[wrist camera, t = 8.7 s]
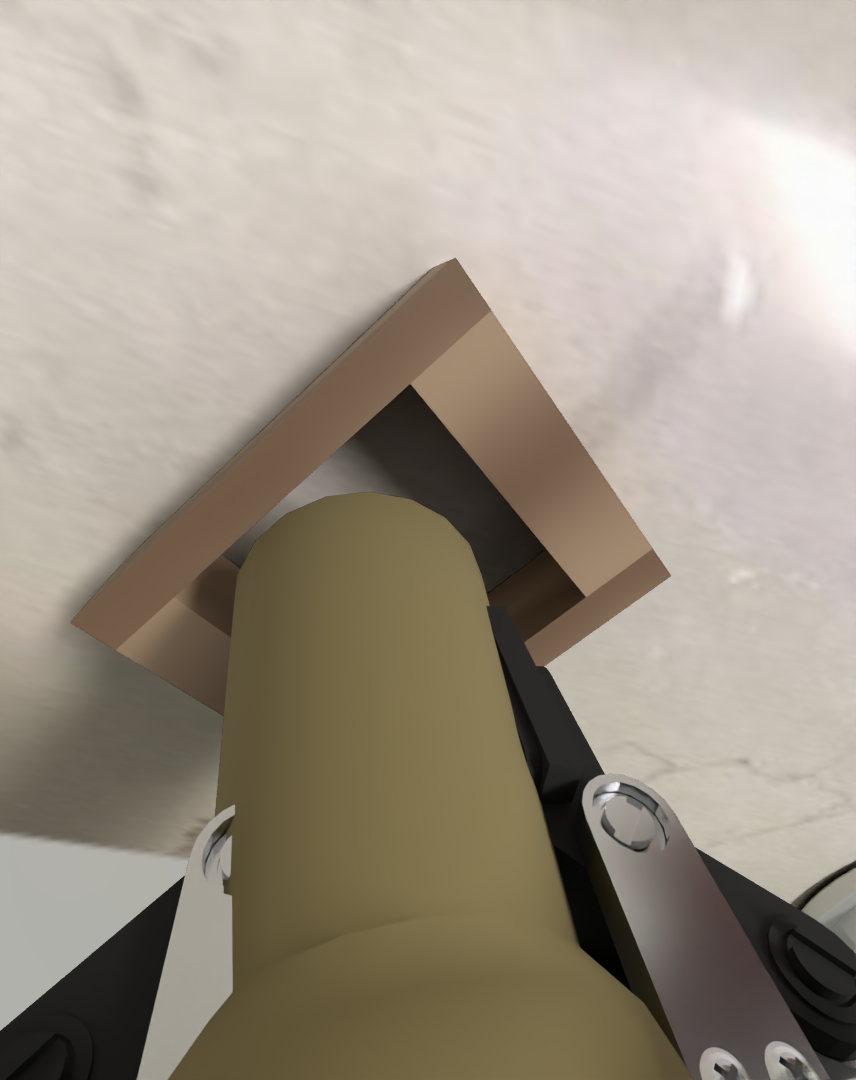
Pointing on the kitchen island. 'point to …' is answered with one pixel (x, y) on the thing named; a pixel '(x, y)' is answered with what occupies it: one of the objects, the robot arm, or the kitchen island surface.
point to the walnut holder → (333, 418)
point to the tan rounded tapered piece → (393, 830)
